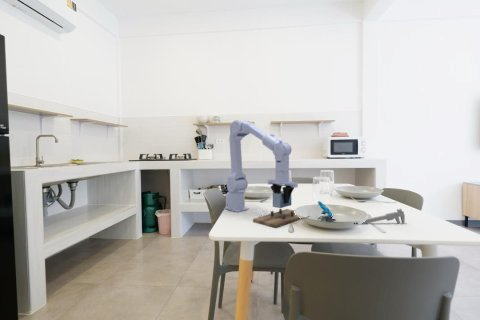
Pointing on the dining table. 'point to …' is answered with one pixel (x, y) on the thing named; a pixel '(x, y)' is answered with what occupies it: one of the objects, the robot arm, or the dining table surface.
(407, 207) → the dining table surface
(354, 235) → the dining table surface
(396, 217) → the caliper
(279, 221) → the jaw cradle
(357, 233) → the dining table surface
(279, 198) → the block
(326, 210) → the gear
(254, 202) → the dining table surface
